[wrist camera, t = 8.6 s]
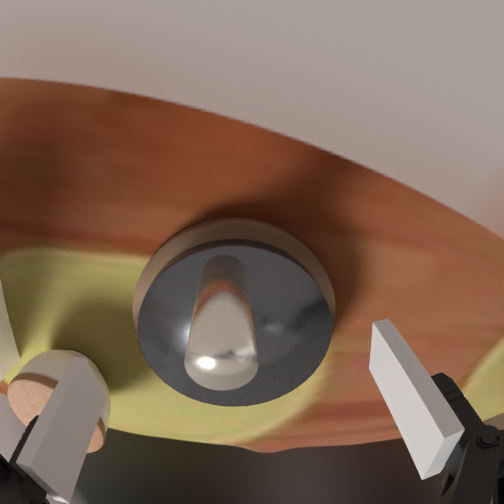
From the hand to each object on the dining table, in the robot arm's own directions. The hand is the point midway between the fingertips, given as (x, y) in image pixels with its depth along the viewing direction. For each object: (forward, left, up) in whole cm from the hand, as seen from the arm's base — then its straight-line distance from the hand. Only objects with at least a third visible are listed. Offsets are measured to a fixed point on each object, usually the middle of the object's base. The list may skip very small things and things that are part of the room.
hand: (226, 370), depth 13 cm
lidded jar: (-12, +18, -14) cm, 26 cm away
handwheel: (-5, 0, -11) cm, 12 cm away
